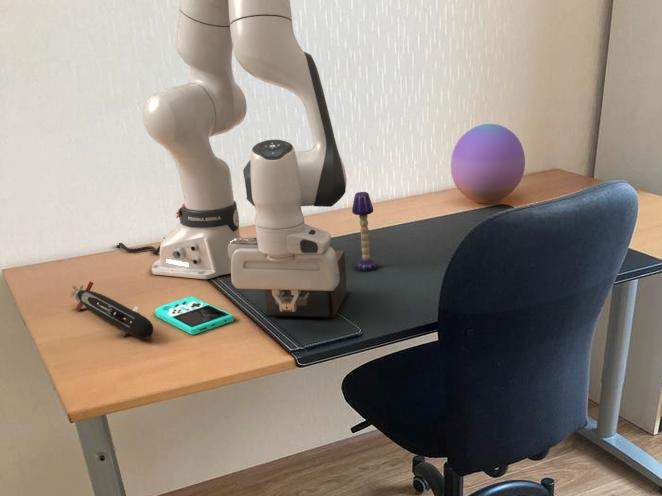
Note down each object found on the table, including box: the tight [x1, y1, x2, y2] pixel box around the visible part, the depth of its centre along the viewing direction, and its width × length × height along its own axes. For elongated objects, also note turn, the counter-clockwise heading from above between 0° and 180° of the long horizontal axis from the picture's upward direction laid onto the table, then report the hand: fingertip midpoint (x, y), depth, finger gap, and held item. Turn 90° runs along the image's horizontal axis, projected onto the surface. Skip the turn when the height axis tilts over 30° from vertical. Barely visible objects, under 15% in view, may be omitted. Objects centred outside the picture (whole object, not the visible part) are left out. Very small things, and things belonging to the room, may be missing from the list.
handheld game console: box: [154, 296, 235, 336], centre depth 169 cm, size 10×16×1 cm, turn 41°
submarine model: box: [69, 280, 154, 339], centre depth 166 cm, size 31×7×10 cm
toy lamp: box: [351, 191, 377, 272], centre depth 184 cm, size 5×5×17 cm
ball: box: [450, 123, 526, 204], centre depth 225 cm, size 20×20×20 cm
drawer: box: [264, 289, 330, 316], centre depth 166 cm, size 17×12×7 cm
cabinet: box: [264, 250, 348, 319], centre depth 170 cm, size 14×14×9 cm
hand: (288, 310), depth 158 cm, fingers closed
